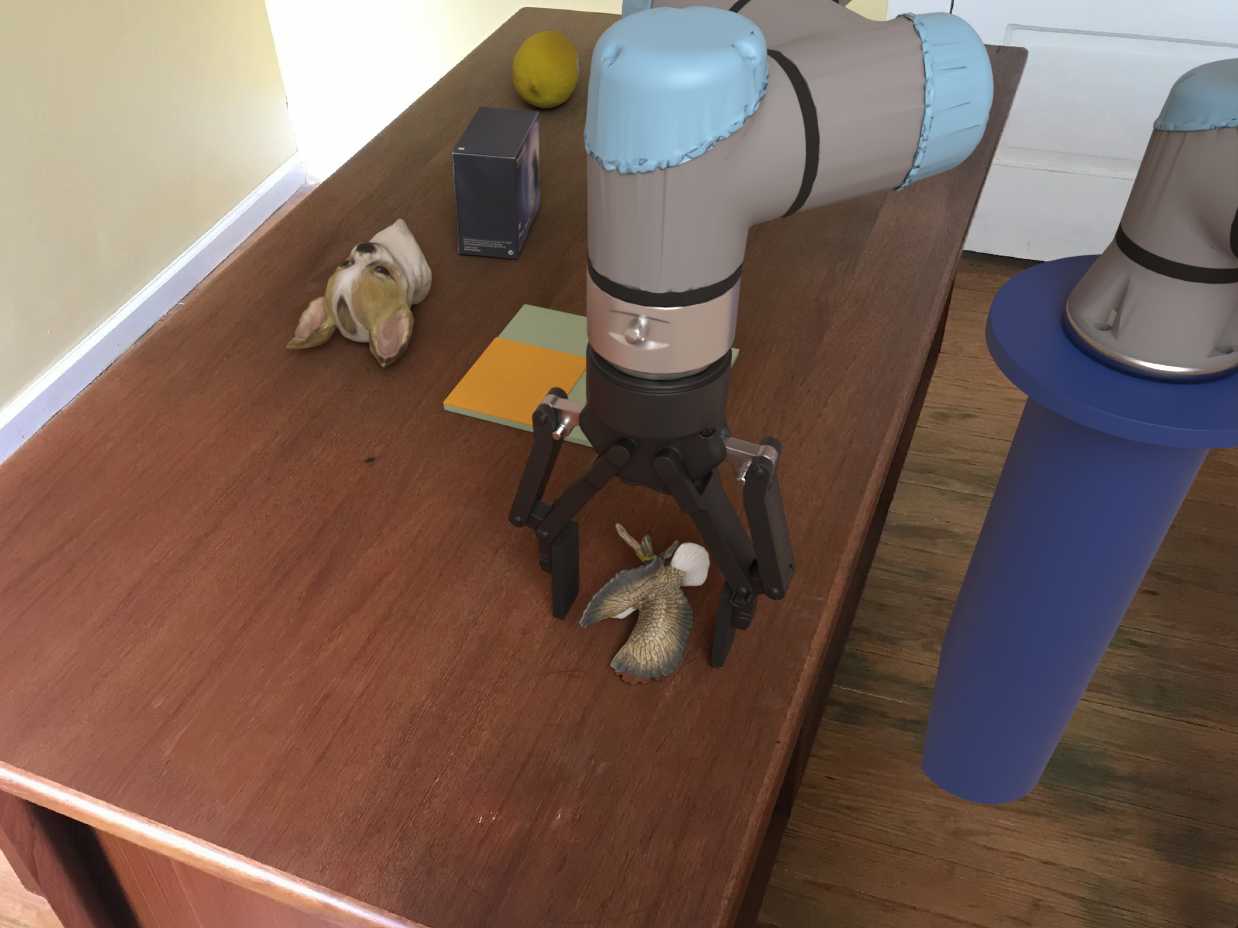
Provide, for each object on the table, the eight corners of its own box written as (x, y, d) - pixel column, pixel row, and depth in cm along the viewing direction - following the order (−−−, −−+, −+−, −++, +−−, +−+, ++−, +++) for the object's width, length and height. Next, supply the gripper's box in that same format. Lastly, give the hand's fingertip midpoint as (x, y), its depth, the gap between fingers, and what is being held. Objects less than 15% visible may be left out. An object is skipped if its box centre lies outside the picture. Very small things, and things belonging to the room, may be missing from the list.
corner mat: (738, 355, 93) (739, 347, 93) (677, 469, 83) (677, 461, 83) (524, 309, 100) (524, 301, 100) (443, 410, 90) (443, 402, 89)
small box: (521, 261, 106) (516, 157, 99) (456, 256, 107) (447, 153, 100) (544, 208, 113) (541, 108, 106) (483, 204, 115) (476, 104, 107)
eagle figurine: (582, 558, 75) (550, 638, 68) (644, 492, 71) (617, 570, 64) (669, 622, 76) (647, 707, 69) (736, 560, 72) (720, 645, 65)
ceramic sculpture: (453, 209, 96) (379, 309, 87) (464, 293, 102) (396, 394, 93) (345, 194, 99) (262, 289, 90) (362, 277, 105) (287, 373, 96)
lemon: (562, 125, 127) (561, 54, 122) (500, 117, 130) (496, 47, 124) (594, 88, 134) (594, 20, 128) (535, 81, 136) (532, 13, 131)
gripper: (430, 335, 58) (462, 617, 73) (867, 435, 50) (799, 725, 66) (492, 266, 63) (509, 544, 78) (899, 348, 55) (829, 638, 71)
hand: (642, 627), depth 72 cm, fingers open, 10 cm apart
